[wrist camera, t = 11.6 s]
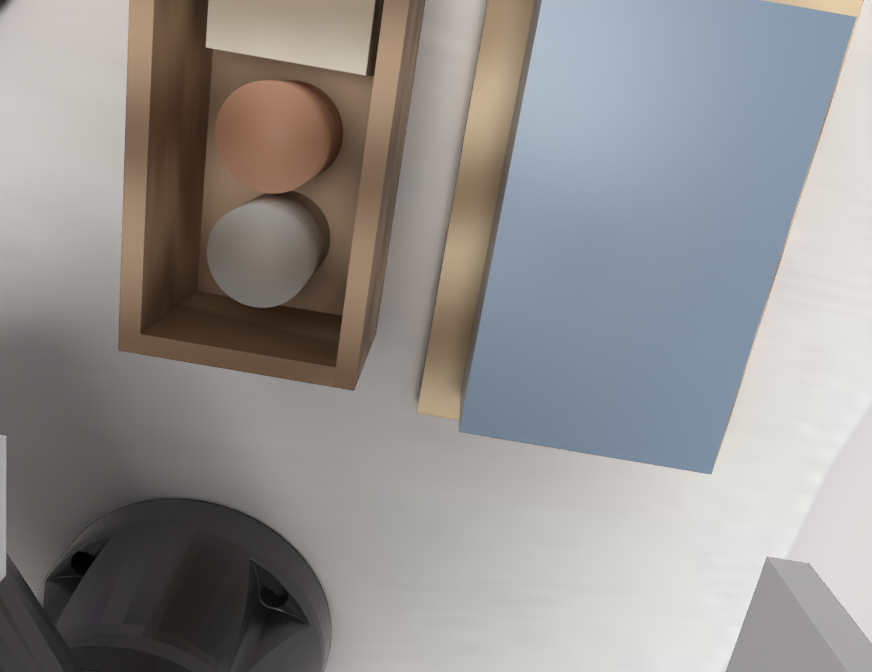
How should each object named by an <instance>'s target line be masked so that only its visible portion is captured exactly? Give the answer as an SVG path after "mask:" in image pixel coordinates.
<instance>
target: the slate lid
mask: <svg viewBox="0 0 872 672" xmlns="http://www.w3.org/2000/svg"><path fill="white" fill-rule="evenodd" d="M856 18H857V17H855V16H849V15H844V14H838V13H832V12H826V11H821V10H815V9H809V8H804V7H798V6H792V5H787V4H781V3H775V2H770V1H764V0H535V1H534V7H533V12H532V17H531V22H530V28H529V33H528V38H527V44H526V49H525V54H524V59H523V65H522V70H521V75H520V81H519V86H518V91H517V96H516V102H515V107H514V112H513V117H512V123H511V128H510V133H509V139H508V144H507V149H506V154H505V160H504V165H503V170H502V175H501V181H500V186H499V191H498V197H497V202H496V207H495V212H494V218H493V223H492V228H491V233H490V239H489V244H488V249H487V255H486V260H485V265H484V270H483V276H482V281H481V286H480V292H479V297H478V302H477V307H476V313H475V318H474V323H473V328H472V334H471V339H470V344H469V350H468V355H467V360H466V365H465V371H464V376H463V381H462V386H461V392H460V414H459V432H463V433H469V434H475V435H481V436H486V437H492V438H498V439H504V440H510V441H516V442H522V443H528V444H534V445H540V446H546V447H552V448H558V449H564V450H570V451H576V452H581V453H587V454H593V455H599V456H605V457H611V458H617V459H623V460H629V461H635V462H641V463H647V464H653V465H659V466H665V467H671V468H676V469H682V470H688V471H694V472H700V473H706V474H711V473H712V470H713V467H714V464H715V461H716V458H717V455H718V451H719V448H720V445H721V442H722V439H723V436H724V433H725V429H726V426H727V423H728V420H729V417H730V414H731V411H732V407H733V404H734V401H735V398H736V395H737V392H738V389H739V385H740V382H741V379H742V376H743V373H744V370H745V367H746V363H747V360H748V357H749V354H750V351H751V348H752V345H753V341H754V338H755V335H756V332H757V329H758V326H759V323H760V319H761V316H762V313H763V310H764V307H765V304H766V301H767V297H768V294H769V291H770V288H771V285H772V282H773V279H774V275H775V272H776V269H777V266H778V263H779V260H780V257H781V253H782V250H783V247H784V244H785V241H786V238H787V235H788V231H789V228H790V225H791V222H792V219H793V216H794V213H795V209H796V206H797V203H798V200H799V197H800V194H801V191H802V187H803V184H804V181H805V178H806V175H807V172H808V169H809V165H810V162H811V159H812V156H813V153H814V150H815V147H816V143H817V140H818V137H819V134H820V131H821V128H822V125H823V121H824V118H825V115H826V112H827V109H828V106H829V103H830V99H831V96H832V93H833V90H834V87H835V84H836V81H837V77H838V74H839V71H840V68H841V65H842V62H843V59H844V55H845V52H846V49H847V46H848V43H849V40H850V37H851V33H852V30H853V27H854V24H855V21H856Z"/></svg>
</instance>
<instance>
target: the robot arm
mask: <svg viewBox="0 0 872 672" xmlns="http://www.w3.org/2000/svg"><path fill="white" fill-rule="evenodd" d="M330 643H331V620H330V614H329V609H328V605H327V602H326V599H325V596H324V593H323V591H322V589H321V586H320V584H319V582H318V581H317V579H316V577H315V575H314V574H313V572H312V571H311V569H310V568H309V566H308V565H307V564H306V562H305V561H304V560H303V559H302V557H301V556H300V555H299V554H298V553H297V552H296V551H295V550H294V549H293V548H292V547H291V546H290V545H289V544H288V543H287V542H286V541H285V540H283V539H282V538H281V537H280V536H278V535H277V534H276V533H274V532H273V531H272V530H270V529H269V528H267V527H266V526H264V525H262V524H261V523H259V522H257V521H255V520H254V519H252V518H249V517H247V516H245V515H243V514H241V513H238V512H236V511H233V510H231V509H228V508H225V507H221V506H218V505H214V504H210V503H205V502H199V501H192V500H180V499H166V500H154V501H146V502H142V503H137V504H133V505H130V506H126V507H123V508H121V509H118V510H116V511H113V512H111V513H109V514H107V515H105V516H104V517H102V518H100V519H98V520H97V521H96V522H94V523H93V524H91V525H90V526H89V527H87V528H86V529H85V530H84V531H83V532H82V533H81V534H80V535H79V536H78V537H77V538H76V539H75V540H74V541H73V543H72V544H71V545H70V546H69V547H68V548H67V550H66V551H65V552H64V553H63V554H62V555H61V557H60V558H59V559H58V560H57V561H56V562H55V564H54V565H53V566H52V568H51V569H50V571H49V572H48V574H47V576H46V578H45V579H44V581H43V583H42V585H41V587H40V589H39V591H38V594H37V597H36V596H35V595H34V593H33V592H32V590H31V589H30V587H29V586H28V584H27V583H26V581H25V580H24V578H23V577H22V575H21V574H20V572H19V571H18V569H17V568H16V566H15V565H14V563H13V562H12V560H11V558H10V557H9V555H8V554H7V552H6V436H5V435H0V672H324V670H325V666H326V662H327V658H328V654H329V650H330ZM726 672H872V643H871V642H870V641H869V639H868V638H867V637H866V636H865V634H864V633H863V632H862V631H861V629H860V628H859V627H858V625H857V624H856V623H855V621H854V620H853V619H852V618H851V616H850V615H849V614H848V613H847V611H846V610H845V609H844V607H843V606H842V605H841V604H840V602H839V601H838V600H837V598H836V597H835V596H834V595H833V593H832V592H831V591H830V589H829V588H828V587H827V586H826V584H825V583H824V582H823V580H822V579H821V578H820V577H819V575H818V574H817V573H816V572H815V570H814V569H813V568H812V566H811V565H810V564H809V563H803V562H797V561H791V560H784V559H778V558H772V557H767V558H766V561H765V564H764V566H763V569H762V572H761V575H760V578H759V580H758V583H757V586H756V589H755V592H754V594H753V597H752V600H751V603H750V606H749V608H748V611H747V614H746V617H745V620H744V622H743V625H742V628H741V631H740V633H739V636H738V639H737V642H736V645H735V647H734V650H733V653H732V656H731V659H730V661H729V664H728V667H727V670H726Z"/></svg>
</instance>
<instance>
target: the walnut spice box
mask: <svg viewBox="0 0 872 672" xmlns="http://www.w3.org/2000/svg"><path fill="white" fill-rule="evenodd" d="M424 5H425V0H130V2H129V33H128V65H127V96H126V127H125V159H124V190H123V221H122V253H121V284H120V315H119V347H118V350H119V351H125V352H131V353H137V354H142V355H148V356H154V357H160V358H166V359H172V360H178V361H183V362H189V363H195V364H201V365H207V366H213V367H219V368H225V369H230V370H236V371H242V372H248V373H254V374H260V375H266V376H271V377H277V378H283V379H289V380H295V381H301V382H307V383H313V384H318V385H324V386H330V387H336V388H342V389H348V390H354V389H355V387H356V384H357V381H358V379H359V376H360V374H361V371H362V368H363V366H364V363H365V360H366V358H367V355H368V352H369V350H370V347H371V344H372V342H373V339H374V336H375V334H376V329H377V322H378V315H379V309H380V302H381V295H382V288H383V282H384V275H385V268H386V261H387V255H388V248H389V241H390V234H391V228H392V221H393V214H394V207H395V201H396V194H397V187H398V180H399V174H400V167H401V160H402V153H403V147H404V140H405V133H406V126H407V120H408V113H409V106H410V99H411V93H412V86H413V79H414V72H415V66H416V59H417V52H418V45H419V39H420V32H421V25H422V18H423V12H424Z"/></svg>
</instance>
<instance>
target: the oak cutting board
mask: <svg viewBox="0 0 872 672" xmlns="http://www.w3.org/2000/svg"><path fill="white" fill-rule="evenodd" d="M534 1H535V0H488V2H487V8H486V14H485V20H484V25H483V31H482V37H481V43H480V49H479V54H478V60H477V66H476V72H475V78H474V83H473V89H472V95H471V101H470V106H469V112H468V118H467V124H466V130H465V135H464V141H463V147H462V153H461V159H460V164H459V170H458V176H457V182H456V188H455V193H454V199H453V205H452V211H451V216H450V222H449V228H448V234H447V240H446V245H445V251H444V257H443V263H442V269H441V274H440V280H439V286H438V292H437V297H436V303H435V309H434V315H433V321H432V326H431V332H430V338H429V344H428V350H427V355H426V361H425V367H424V373H423V379H422V384H421V390H420V396H419V402H418V408H417V413H420V414H426V415H432V416H438V417H444V418H449V419H455V420H459V414H460V392H461V386H462V381H463V376H464V371H465V365H466V360H467V355H468V350H469V344H470V339H471V334H472V328H473V323H474V318H475V313H476V307H477V302H478V297H479V292H480V286H481V281H482V276H483V270H484V265H485V260H486V255H487V249H488V244H489V239H490V233H491V228H492V223H493V218H494V212H495V207H496V202H497V197H498V191H499V186H500V181H501V175H502V170H503V165H504V160H505V154H506V149H507V144H508V139H509V133H510V128H511V123H512V117H513V112H514V107H515V102H516V96H517V91H518V86H519V81H520V75H521V70H522V65H523V59H524V54H525V49H526V44H527V38H528V33H529V28H530V22H531V17H532V12H533V7H534ZM764 1H770V2H775V3H781V4H787V5H792V6H798V7H804V8H809V9H815V10H821V11H826V12H832V13H838V14H844V15H849V16H855V17H857V18H856V21H855V24H854V27H853V30H852V33H851V37H850V40H849V43H848V46H847V49H846V52H845V55H844V59H843V62H842V65H841V68H840V71H839V74H838V77H837V81H836V84H835V87H834V90H833V93H832V96H831V99H830V103H829V106H828V109H827V112H826V115H825V118H824V121H823V125H822V128H821V131H820V134H819V137H818V140H817V143H816V147H815V150H814V153H813V156H812V159H811V162H810V165H809V169H808V172H807V175H806V178H805V181H804V184H803V187H802V191H801V194H800V197H799V200H798V203H797V206H796V209H795V213H794V216H793V219H792V222H791V225H790V228H789V231H788V235H787V238H786V241H785V244H784V247H783V250H782V253H781V257H782V254H783V251H784V248H785V245H786V242H787V239H788V236H789V233H790V229H791V226H792V223H793V220H794V217H795V214H796V211H797V208H798V204H799V201H800V198H801V195H802V192H803V189H804V186H805V183H806V180H807V176H808V173H809V170H810V167H811V164H812V161H813V158H814V155H815V151H816V148H817V145H818V142H819V139H820V136H821V133H822V130H823V126H824V123H825V120H826V117H827V114H828V111H829V108H830V105H831V102H832V98H833V95H834V92H835V89H836V86H837V83H838V80H839V77H840V73H841V70H842V67H843V64H844V61H845V58H846V55H847V52H848V49H849V45H850V42H851V39H852V36H853V33H854V30H855V27H856V24H857V20H858V17H859V14H860V11H861V8H862V5H863V2H864V0H764ZM781 257H780V260H779V263H778V266H777V269H776V272H775V275H774V279H775V276H776V273H777V270H778V267H779V264H780V261H781ZM774 279H773V282H774ZM773 282H772V285H771V288H770V291H769V294H768V297H767V301H768V298H769V295H770V292H771V289H772V286H773ZM767 301H766V304H767ZM766 304H765V307H766ZM765 307H764V310H765ZM764 310H763V313H762V316H761V319H760V323H761V320H762V317H763V314H764ZM760 323H759V326H760ZM759 326H758V329H759ZM758 329H757V332H758ZM757 332H756V335H757ZM756 335H755V338H754V341H753V345H754V342H755V339H756ZM753 345H752V348H753ZM752 348H751V351H752ZM751 351H750V354H751ZM750 354H749V357H750ZM749 357H748V360H749ZM748 360H747V363H746V367H747V364H748ZM746 367H745V370H746ZM745 370H744V373H745ZM744 373H743V376H744ZM743 376H742V379H743ZM742 379H741V382H742ZM741 382H740V385H741ZM740 385H739V388H740ZM738 392H739V389H738ZM738 392H737V395H738ZM737 395H736V398H737ZM736 398H735V401H736ZM735 401H734V404H735ZM734 404H733V407H734ZM733 407H732V410H733ZM731 413H732V411H731ZM730 417H731V414H730ZM730 417H729V420H730ZM729 420H728V423H729ZM728 423H727V426H728ZM727 426H726V429H727ZM726 429H725V432H726ZM724 435H725V433H724ZM723 438H724V436H723ZM722 441H723V439H722ZM721 445H722V442H721ZM721 445H720V448H721ZM720 448H719V451H720ZM719 451H718V454H719ZM717 457H718V455H717ZM716 460H717V458H716ZM715 463H716V461H715Z"/></svg>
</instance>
